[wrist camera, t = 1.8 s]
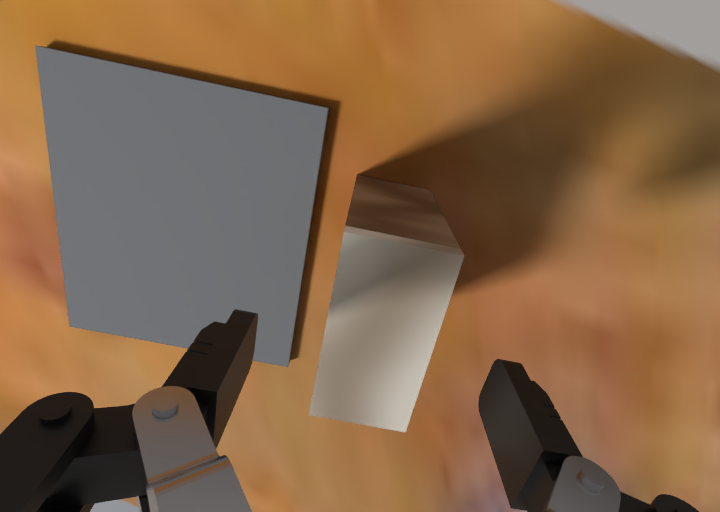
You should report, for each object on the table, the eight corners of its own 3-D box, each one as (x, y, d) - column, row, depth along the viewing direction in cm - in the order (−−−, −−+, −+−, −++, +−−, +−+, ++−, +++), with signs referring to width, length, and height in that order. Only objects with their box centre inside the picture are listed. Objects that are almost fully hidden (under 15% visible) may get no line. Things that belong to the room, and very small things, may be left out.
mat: (329, 107, 19) (328, 108, 19) (289, 360, 26) (288, 366, 25) (45, 46, 19) (35, 45, 18) (76, 321, 25) (69, 326, 25)
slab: (430, 189, 21) (464, 256, 13) (395, 314, 24) (405, 432, 16) (357, 174, 21) (344, 232, 13) (332, 302, 24) (308, 414, 16)
